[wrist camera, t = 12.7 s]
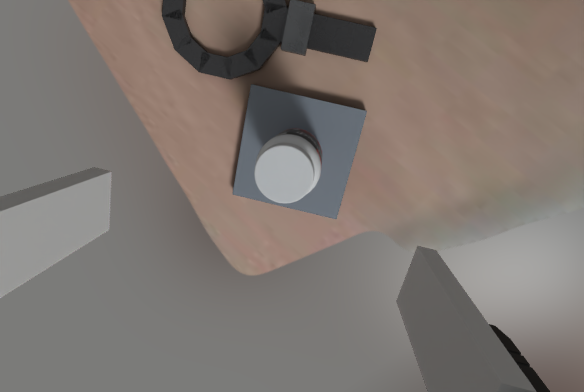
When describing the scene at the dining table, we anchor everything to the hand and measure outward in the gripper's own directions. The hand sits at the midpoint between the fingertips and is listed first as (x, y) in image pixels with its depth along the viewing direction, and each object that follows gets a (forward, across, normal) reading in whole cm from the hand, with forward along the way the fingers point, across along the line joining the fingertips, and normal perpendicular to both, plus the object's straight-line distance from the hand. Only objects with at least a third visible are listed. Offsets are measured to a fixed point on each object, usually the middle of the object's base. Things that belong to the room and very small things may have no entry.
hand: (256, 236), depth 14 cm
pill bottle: (+22, 0, 0) cm, 22 cm away
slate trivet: (+23, 0, 0) cm, 23 cm away
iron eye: (+23, -6, +12) cm, 26 cm away
